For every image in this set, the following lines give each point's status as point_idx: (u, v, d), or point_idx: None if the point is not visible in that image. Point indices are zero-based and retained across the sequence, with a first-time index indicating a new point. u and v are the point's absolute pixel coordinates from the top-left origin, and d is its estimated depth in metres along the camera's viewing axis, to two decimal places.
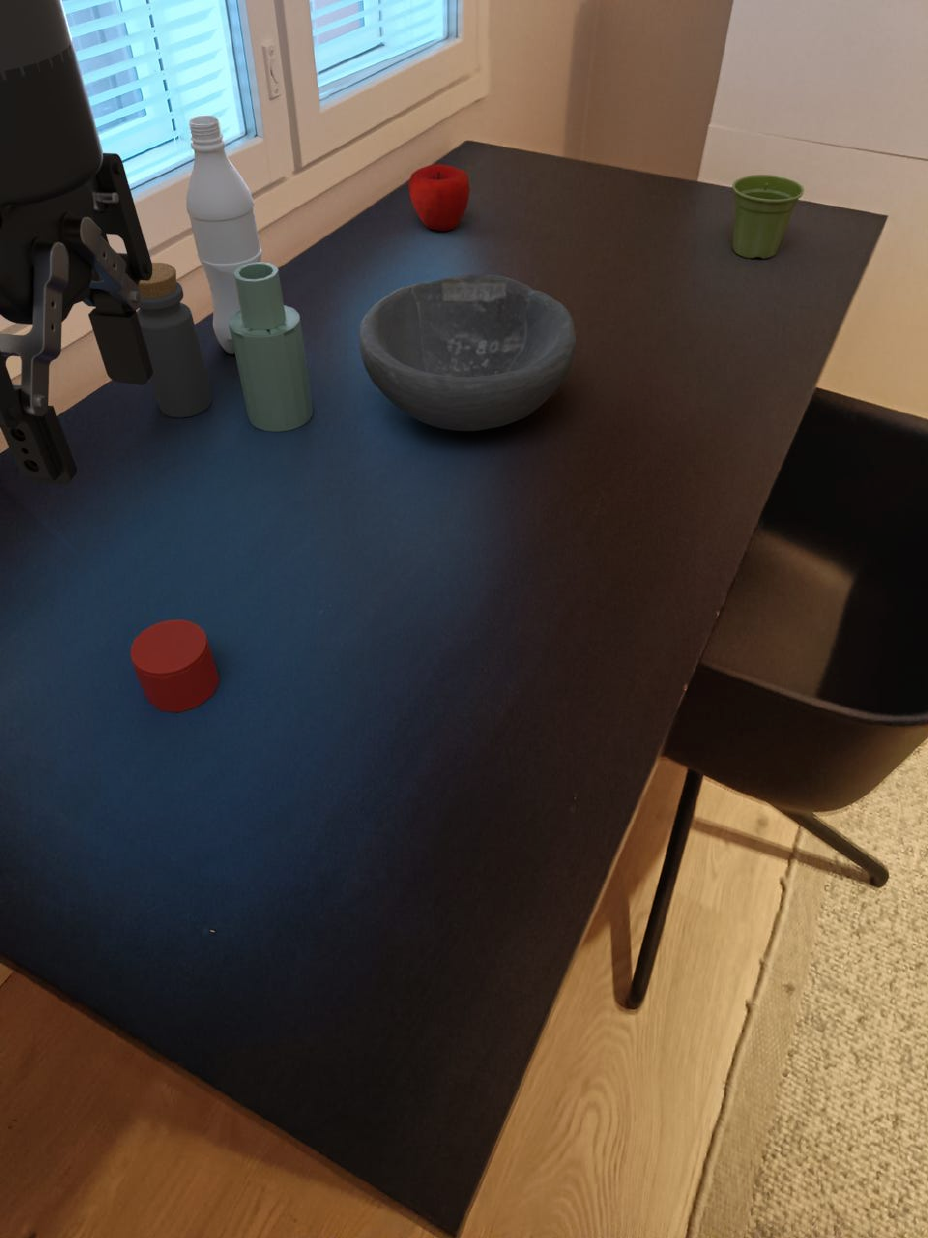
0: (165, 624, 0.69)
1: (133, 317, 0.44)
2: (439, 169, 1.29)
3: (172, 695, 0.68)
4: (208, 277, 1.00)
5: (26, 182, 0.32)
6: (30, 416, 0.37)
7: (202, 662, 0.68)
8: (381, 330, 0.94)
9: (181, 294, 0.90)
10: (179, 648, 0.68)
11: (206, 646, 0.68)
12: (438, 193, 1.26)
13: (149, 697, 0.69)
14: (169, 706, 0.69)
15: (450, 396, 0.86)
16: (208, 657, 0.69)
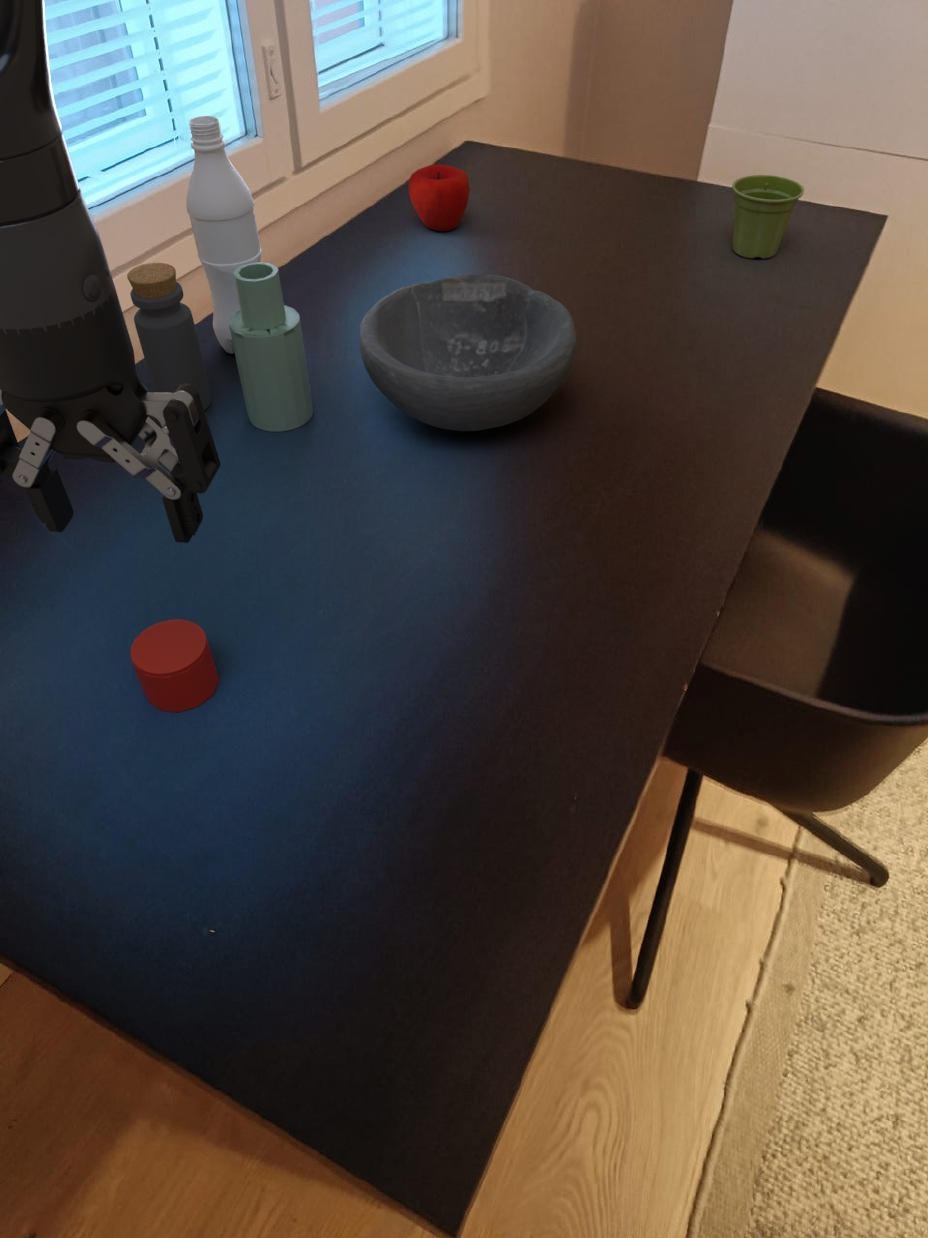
0: (165, 624, 0.69)
1: (166, 501, 0.54)
2: (439, 169, 1.29)
3: (172, 695, 0.68)
4: (208, 277, 1.00)
5: None
6: None
7: (202, 662, 0.68)
8: (381, 330, 0.94)
9: (181, 294, 0.90)
10: (179, 648, 0.68)
11: (206, 646, 0.68)
12: (438, 193, 1.26)
13: (149, 697, 0.69)
14: (169, 706, 0.69)
15: (450, 396, 0.86)
16: (208, 657, 0.69)
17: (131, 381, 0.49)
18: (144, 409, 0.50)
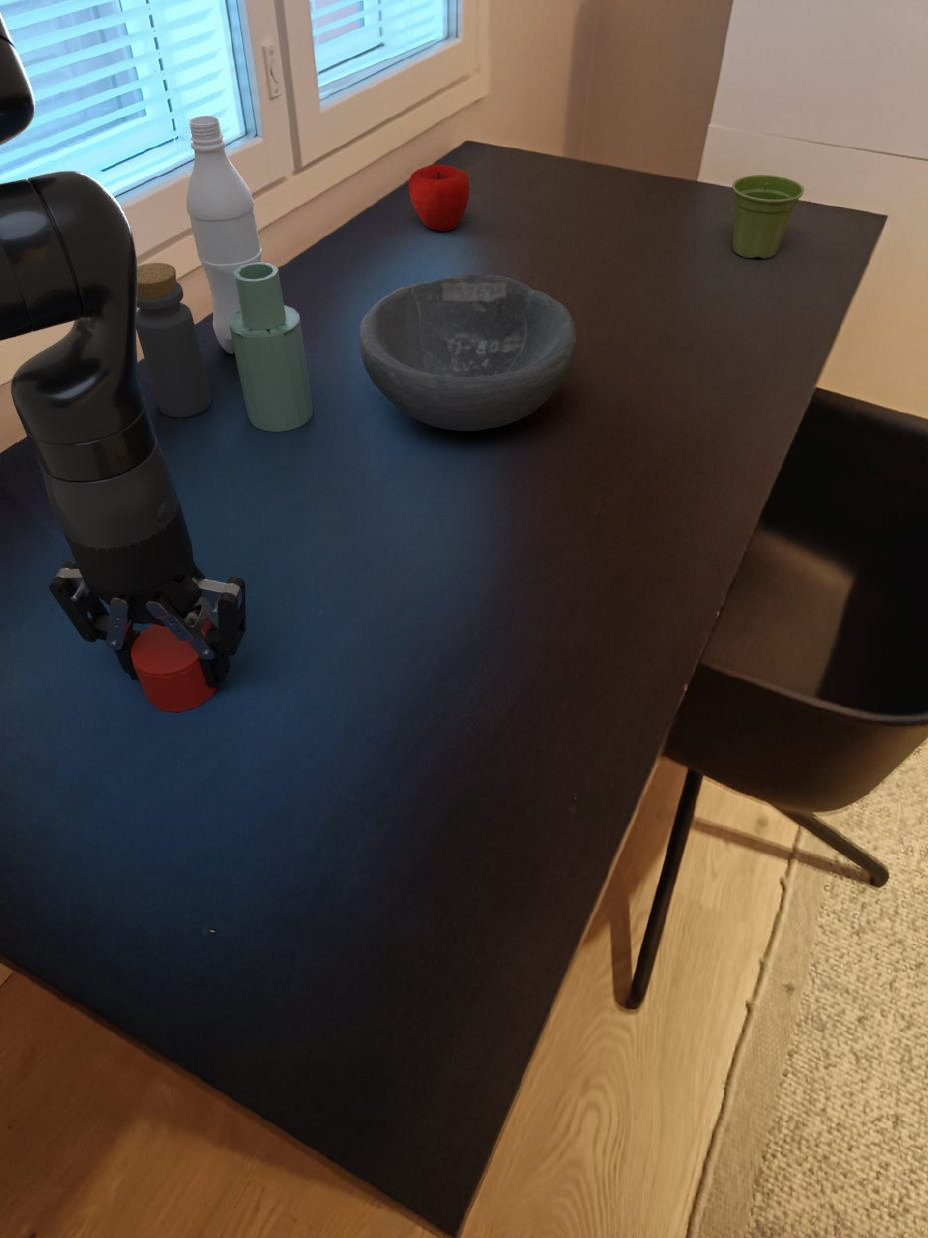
0: None
1: (202, 659, 0.67)
2: (439, 169, 1.29)
3: (172, 695, 0.68)
4: (208, 277, 1.00)
5: (80, 572, 0.59)
6: None
7: None
8: (381, 330, 0.94)
9: (181, 294, 0.90)
10: (179, 648, 0.68)
11: None
12: (438, 193, 1.26)
13: (149, 697, 0.69)
14: (169, 706, 0.69)
15: (450, 396, 0.86)
16: None
17: (190, 570, 0.61)
18: (200, 591, 0.62)
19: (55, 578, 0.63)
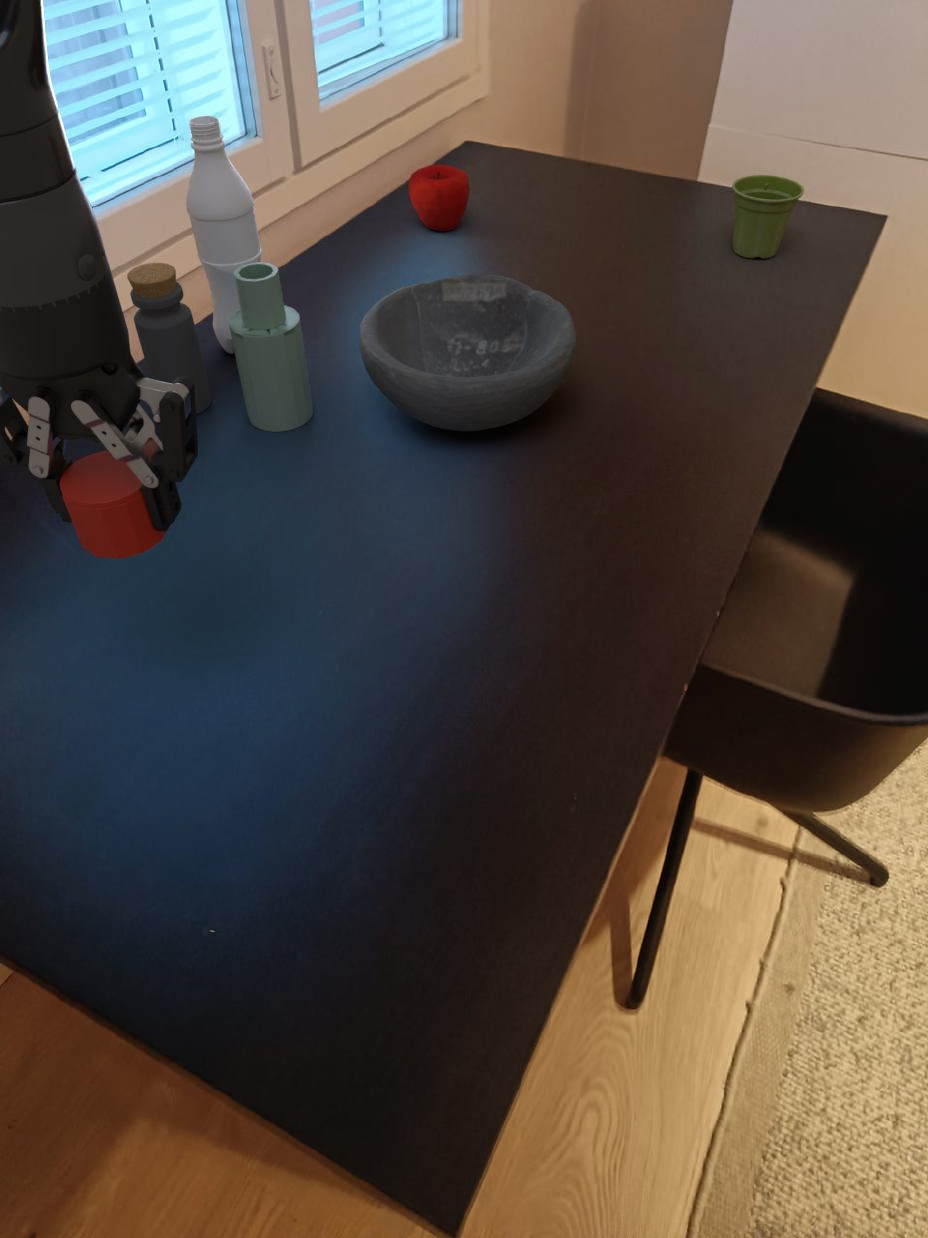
0: (104, 454, 0.58)
1: (145, 489, 0.55)
2: (439, 169, 1.29)
3: (109, 534, 0.56)
4: (208, 277, 1.00)
5: None
6: None
7: None
8: (381, 330, 0.94)
9: (181, 294, 0.90)
10: (118, 478, 0.56)
11: None
12: (438, 193, 1.26)
13: (83, 540, 0.57)
14: (107, 550, 0.57)
15: (450, 396, 0.86)
16: None
17: (125, 361, 0.50)
18: (138, 389, 0.51)
19: None
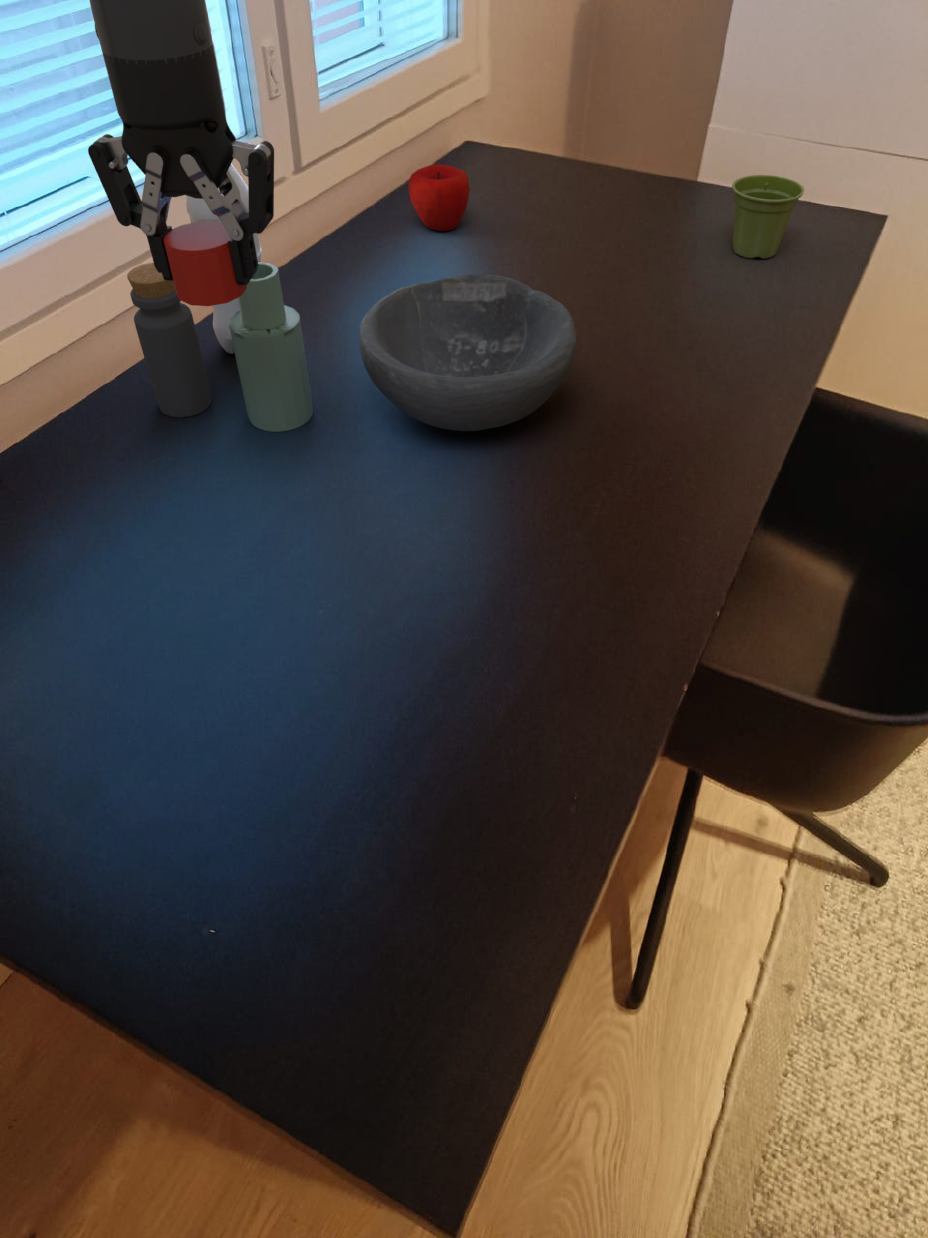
0: (196, 224, 0.72)
1: (232, 242, 0.70)
2: (439, 169, 1.29)
3: (203, 281, 0.71)
4: None
5: (119, 110, 0.63)
6: None
7: None
8: (381, 330, 0.94)
9: None
10: (210, 236, 0.71)
11: None
12: (438, 193, 1.26)
13: (180, 291, 0.72)
14: (199, 297, 0.72)
15: (450, 396, 0.86)
16: None
17: (222, 122, 0.64)
18: (232, 147, 0.65)
19: (94, 142, 0.66)
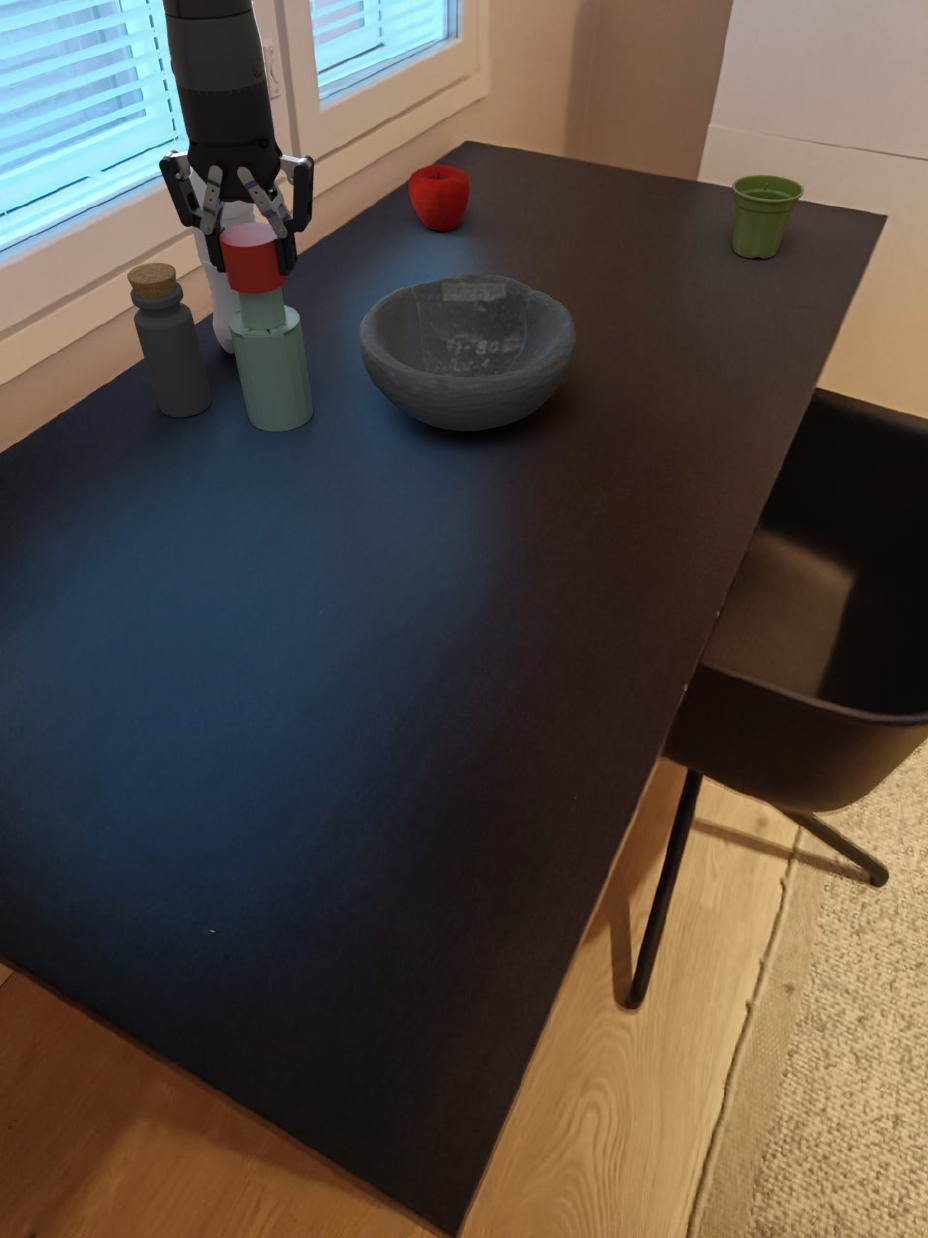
0: (245, 224, 0.86)
1: (277, 240, 0.83)
2: (439, 169, 1.29)
3: (252, 272, 0.84)
4: (208, 277, 1.00)
5: (188, 131, 0.76)
6: None
7: None
8: (381, 330, 0.94)
9: (181, 294, 0.90)
10: (258, 235, 0.84)
11: None
12: (438, 193, 1.26)
13: (232, 281, 0.85)
14: (249, 286, 0.85)
15: (450, 396, 0.86)
16: None
17: (272, 140, 0.78)
18: (280, 161, 0.78)
19: (163, 157, 0.80)
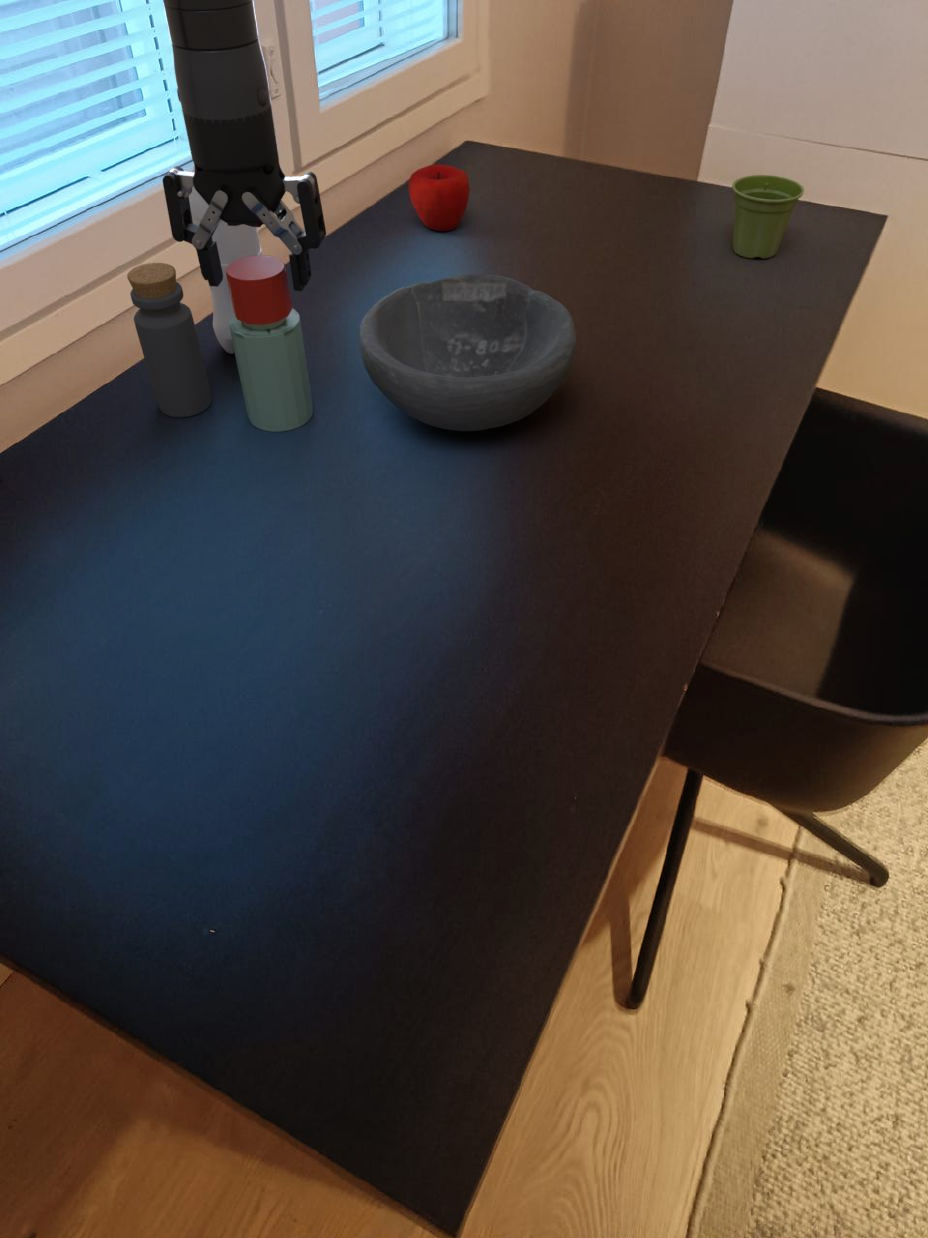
0: (251, 257, 0.88)
1: (291, 256, 0.84)
2: (439, 169, 1.29)
3: (258, 305, 0.86)
4: None
5: (194, 158, 0.77)
6: None
7: (282, 279, 0.86)
8: (381, 330, 0.94)
9: (181, 294, 0.90)
10: (264, 268, 0.86)
11: (284, 269, 0.87)
12: (438, 193, 1.26)
13: (239, 312, 0.88)
14: (255, 318, 0.87)
15: (450, 396, 0.86)
16: (285, 279, 0.87)
17: (277, 166, 0.79)
18: (284, 186, 0.80)
19: (168, 173, 0.81)
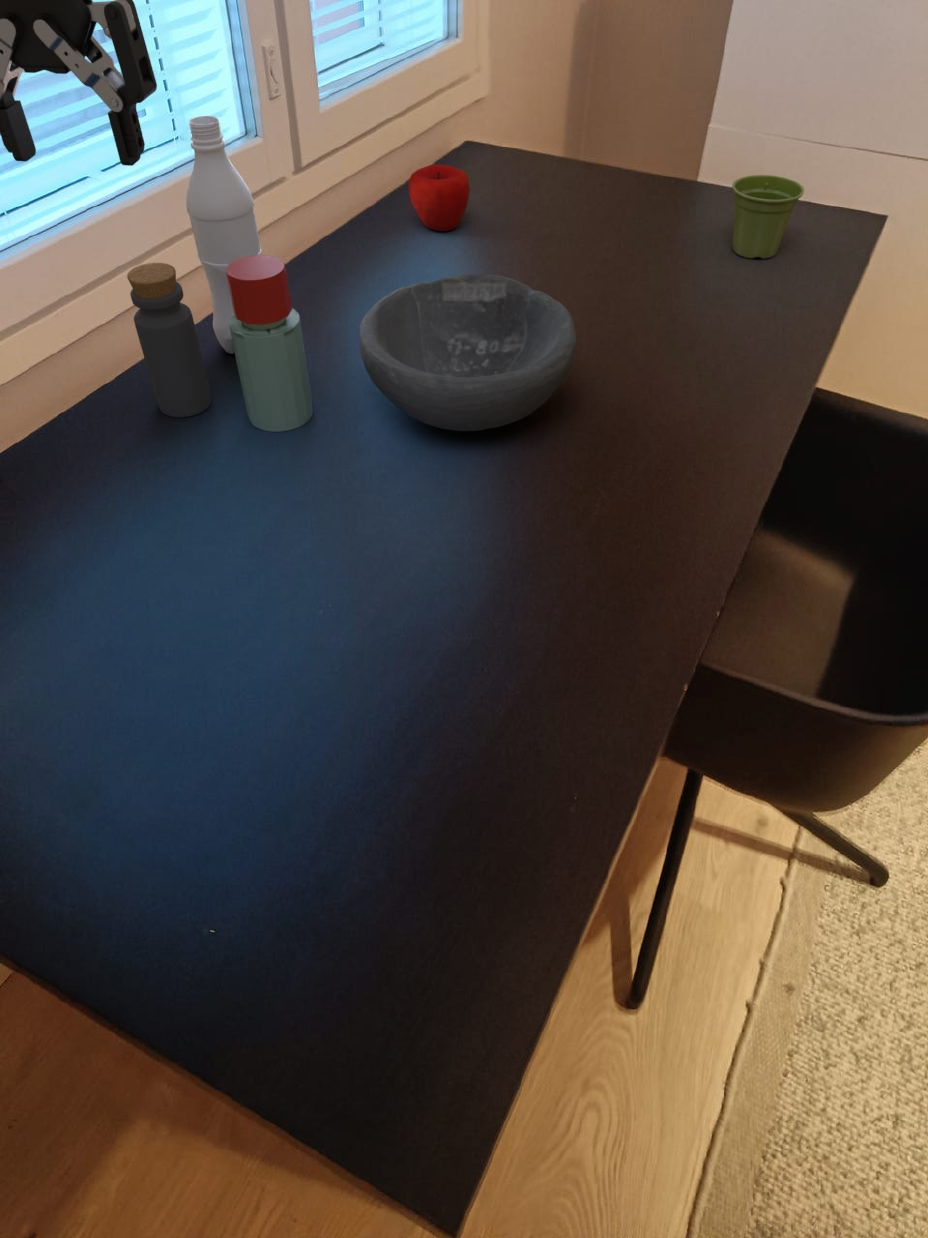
0: (251, 257, 0.88)
1: (111, 114, 0.65)
2: (439, 169, 1.29)
3: (258, 305, 0.86)
4: (208, 277, 1.00)
5: None
6: None
7: (282, 279, 0.86)
8: (381, 330, 0.94)
9: (181, 294, 0.90)
10: (264, 268, 0.86)
11: (284, 269, 0.87)
12: (438, 193, 1.26)
13: (239, 312, 0.88)
14: (255, 318, 0.87)
15: (450, 396, 0.86)
16: (285, 279, 0.87)
17: None
18: (89, 13, 0.61)
19: None
